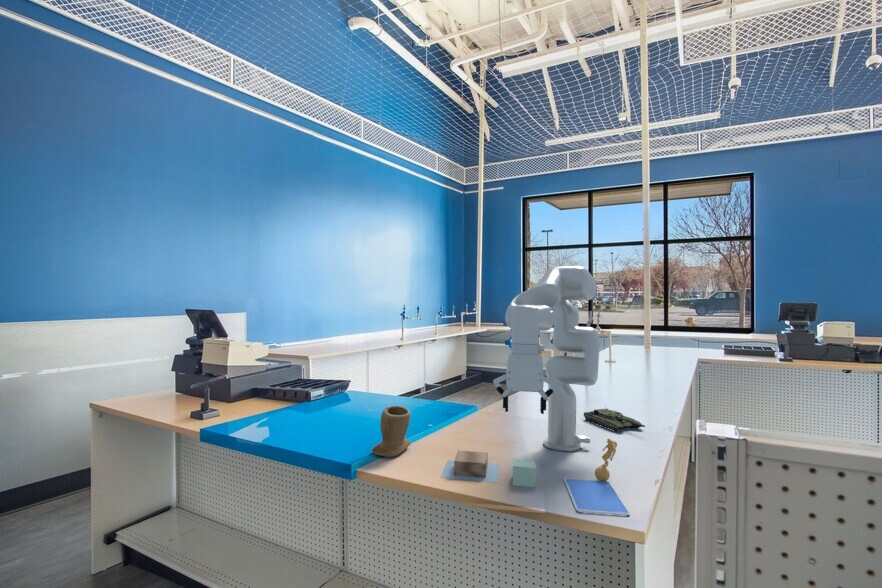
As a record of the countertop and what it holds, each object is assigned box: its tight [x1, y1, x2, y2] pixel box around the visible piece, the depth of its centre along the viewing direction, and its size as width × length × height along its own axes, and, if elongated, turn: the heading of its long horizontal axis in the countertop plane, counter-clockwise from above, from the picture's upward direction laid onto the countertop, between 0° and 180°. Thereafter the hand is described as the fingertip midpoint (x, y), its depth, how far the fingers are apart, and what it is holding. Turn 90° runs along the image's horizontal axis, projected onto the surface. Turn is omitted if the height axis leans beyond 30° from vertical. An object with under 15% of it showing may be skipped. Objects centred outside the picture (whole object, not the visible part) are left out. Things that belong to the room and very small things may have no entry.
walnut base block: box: [453, 449, 489, 478], centre depth 126 cm, size 9×9×4 cm
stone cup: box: [371, 405, 412, 458], centre depth 144 cm, size 15×12×15 cm
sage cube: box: [512, 458, 537, 488], centre depth 119 cm, size 6×6×6 cm
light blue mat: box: [440, 459, 500, 484], centre depth 126 cm, size 16×14×1 cm
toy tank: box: [583, 404, 646, 432], centre depth 177 cm, size 14×28×10 cm, turn 19°
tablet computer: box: [563, 478, 631, 516], centre depth 112 cm, size 19×13×1 cm, turn 173°
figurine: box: [594, 438, 618, 482], centre depth 122 cm, size 8×6×12 cm
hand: (524, 411), depth 119 cm, fingers open, 9 cm apart
